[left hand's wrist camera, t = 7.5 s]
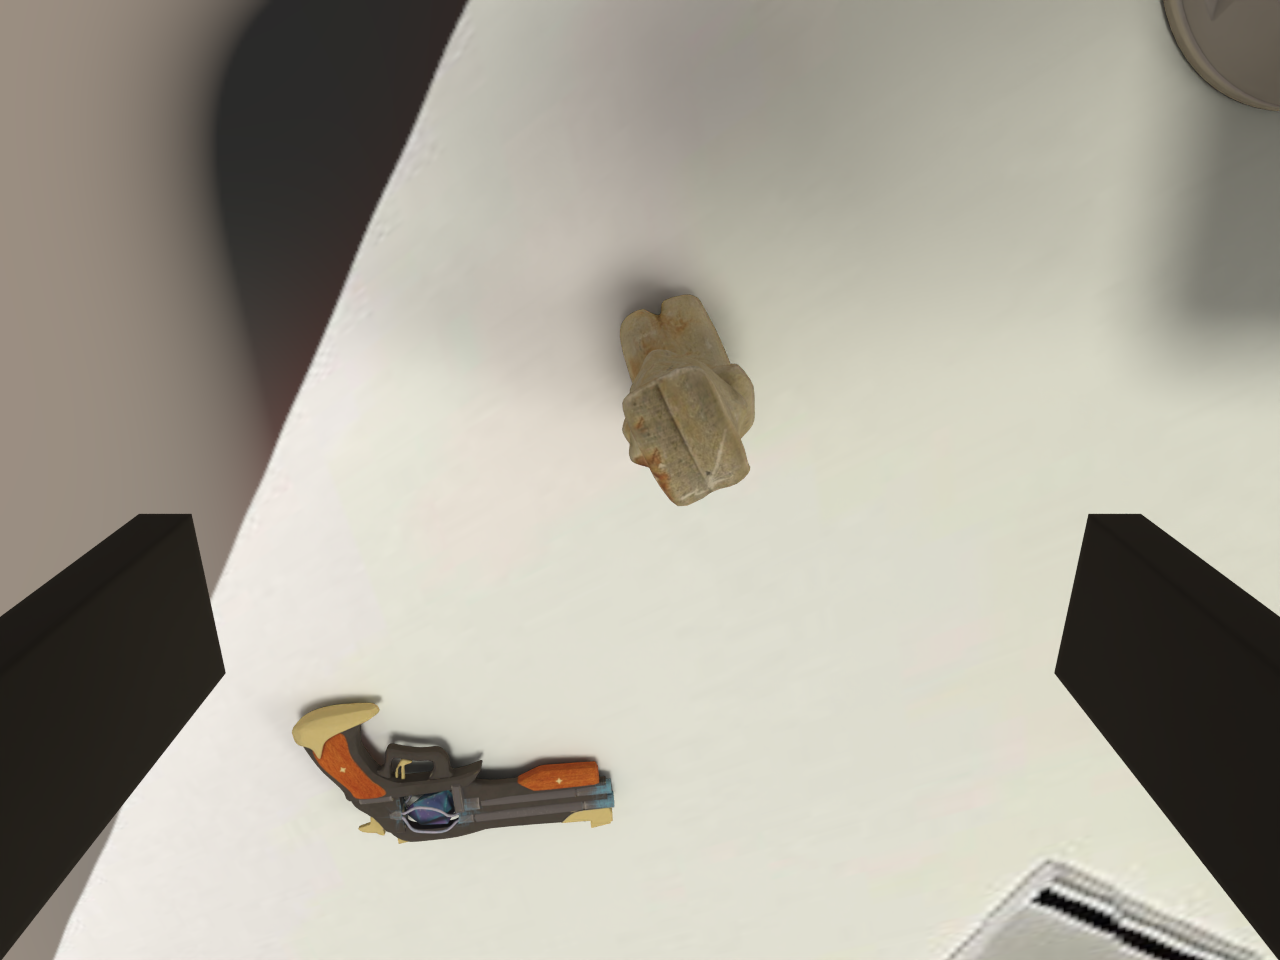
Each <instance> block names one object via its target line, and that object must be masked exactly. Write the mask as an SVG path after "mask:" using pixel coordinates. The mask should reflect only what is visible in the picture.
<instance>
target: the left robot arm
mask: <svg viewBox="0 0 1280 960" xmlns="http://www.w3.org/2000/svg"><path fill="white" fill-rule="evenodd" d="M1163 2H1164V7H1165V12H1166V15H1167V18H1168V22H1169V25H1170V28H1171V31H1172V33H1173V35H1174V37H1175V40H1176V42H1177V44H1178V46H1179V48H1180V49H1181V51H1182V53H1183V54H1184V56H1185V58H1186V59H1187V60H1188V62H1189V63H1190V64H1191V66H1192V67H1193V68H1194V70H1195V71H1196V72H1197V73H1198V74H1199V75H1200V76H1201V77H1202V78H1203V79H1204V80H1205V81H1206V82H1208V83H1209V84H1210V85H1211V86H1213V87H1214V88H1215V89H1216V90H1218V91H1220V92H1221V93H1223V94H1225V95H1226V96H1228V97H1230V98H1232V99H1234V100H1236V101H1239V102H1241V103H1243V104H1246V105H1250V106H1253V107H1256V108H1261V109H1267V110H1273V111H1280V0H1163ZM224 675H225V668H224V663H223V659H222V654H221V649H220V645H219V640H218V635H217V631H216V626H215V621H214V617H213V612H212V607H211V603H210V598H209V593H208V589H207V584H206V579H205V575H204V570H203V565H202V561H201V556H200V551H199V547H198V542H197V537H196V533H195V528H194V523H193V519H192V514H138V515H137V516H136V517H134V518H133V519H132V520H130V521H129V522H128V523H126V524H125V525H124V526H122V527H121V528H119V529H118V530H117V531H115V532H114V533H113V534H111V535H110V536H109V537H107V538H106V539H105V540H103V541H102V542H101V543H99V544H98V545H97V546H95V547H94V548H93V549H91V550H90V551H89V552H87V553H86V554H84V555H83V556H82V557H80V558H79V559H78V560H76V561H75V562H74V563H72V564H71V565H70V566H68V567H67V568H66V569H64V570H63V571H61V572H60V573H59V574H57V575H56V576H55V577H53V578H52V579H51V580H49V581H48V582H47V583H45V584H44V585H43V586H41V587H40V588H39V589H37V590H36V591H34V592H33V593H32V594H30V595H29V596H28V597H26V598H25V599H24V600H22V601H21V602H20V603H18V604H17V605H16V606H14V607H13V608H12V609H10V610H9V611H7V612H6V613H5V614H3V615H2V616H1V617H0V960H2V959H3V957H4V956H5V955H6V953H7V952H8V951H9V950H10V948H11V947H12V946H13V945H14V943H15V942H16V941H17V939H18V938H19V937H20V936H21V934H22V933H23V932H24V930H25V929H26V928H27V927H28V925H29V924H30V923H31V921H32V920H33V919H34V918H35V916H36V915H37V914H38V913H39V911H40V910H41V909H42V907H43V906H44V905H45V903H46V902H47V901H48V900H49V898H50V897H51V896H52V895H53V893H54V892H55V891H56V890H57V888H58V887H59V886H60V884H61V883H62V882H63V881H64V879H65V878H66V877H67V875H68V874H69V873H70V872H71V870H72V869H73V868H74V866H75V865H76V864H77V863H78V861H79V860H80V859H81V857H82V856H83V855H84V854H85V852H86V851H87V850H88V849H89V847H90V846H91V845H92V843H93V842H94V841H95V840H96V838H97V837H98V836H99V834H100V833H101V832H102V831H103V829H104V828H105V827H106V826H107V824H108V823H109V822H110V820H111V819H112V818H113V817H114V815H115V814H116V813H117V811H118V810H119V809H120V808H121V806H122V805H123V804H124V802H125V801H126V800H127V799H128V797H129V796H130V795H131V794H132V792H133V791H134V790H135V788H136V787H137V786H138V785H139V783H140V782H141V781H142V779H143V778H144V777H145V776H146V774H147V773H148V772H149V770H150V769H151V768H152V767H153V765H154V764H155V763H156V762H157V760H158V759H159V758H160V756H161V755H162V754H163V753H164V751H165V750H166V749H167V747H168V746H169V745H170V744H171V742H172V741H173V740H174V739H175V737H176V736H177V735H178V733H179V732H180V731H181V730H182V728H183V727H184V726H185V724H186V723H187V722H188V721H189V719H190V718H191V717H192V715H193V714H194V713H195V712H196V710H197V709H198V708H199V707H200V705H201V704H202V703H203V701H204V700H205V699H206V698H207V696H208V695H209V694H210V692H211V691H212V690H213V689H214V687H215V686H216V685H217V683H218V682H219V681H220V680H221V678H222V677H223V676H224ZM1055 675H1056V676H1057V677H1058V678H1059V680H1060V681H1061V682H1062V683H1063V685H1064V686H1065V687H1066V689H1067V690H1068V691H1069V692H1070V694H1071V695H1072V696H1073V698H1074V699H1075V700H1076V701H1077V703H1078V704H1079V705H1080V707H1081V708H1082V709H1083V710H1084V712H1085V713H1086V714H1087V715H1088V717H1089V718H1090V719H1091V721H1092V722H1093V723H1094V724H1095V726H1096V727H1097V728H1098V730H1099V731H1100V732H1101V733H1102V735H1103V736H1104V737H1105V739H1106V740H1107V741H1108V742H1109V744H1110V745H1111V746H1112V747H1113V749H1114V750H1115V751H1116V753H1117V754H1118V755H1119V756H1120V758H1121V759H1122V760H1123V762H1124V763H1125V764H1126V765H1127V767H1128V768H1129V769H1130V771H1131V772H1132V773H1133V774H1134V776H1135V777H1136V778H1137V779H1138V781H1139V782H1140V783H1141V785H1142V786H1143V787H1144V788H1145V790H1146V791H1147V792H1148V794H1149V795H1150V796H1151V797H1152V799H1153V800H1154V801H1155V802H1156V804H1157V805H1158V806H1159V808H1160V809H1161V810H1162V811H1163V813H1164V814H1165V815H1166V817H1167V818H1168V819H1169V820H1170V822H1171V823H1172V824H1173V826H1174V827H1175V828H1176V829H1177V831H1178V832H1179V833H1180V834H1181V836H1182V837H1183V838H1184V840H1185V841H1186V842H1187V843H1188V845H1189V846H1190V847H1191V849H1192V850H1193V851H1194V852H1195V854H1196V855H1197V856H1198V858H1199V859H1200V860H1201V861H1202V863H1203V864H1204V865H1205V866H1206V868H1207V869H1208V870H1209V872H1210V873H1211V874H1212V875H1213V877H1214V878H1215V879H1216V881H1217V882H1218V883H1219V884H1220V886H1221V887H1222V888H1223V890H1224V891H1225V892H1226V893H1227V895H1228V896H1229V897H1230V898H1231V900H1232V901H1233V902H1234V904H1235V905H1236V906H1237V907H1238V909H1239V910H1240V911H1241V913H1242V914H1243V915H1244V916H1245V918H1246V919H1247V920H1248V921H1249V923H1250V924H1251V925H1252V927H1253V928H1254V929H1255V930H1256V932H1257V933H1258V934H1259V936H1260V937H1261V938H1262V939H1263V941H1264V942H1265V943H1266V945H1267V946H1268V947H1269V948H1270V950H1271V951H1272V952H1273V953H1274V955H1275V956H1276V957H1277V959H1278V960H1280V617H1279V616H1278V615H1277V614H1275V613H1274V612H1273V611H1271V610H1270V609H1268V608H1267V607H1266V606H1264V605H1263V604H1262V603H1260V602H1259V601H1258V600H1256V599H1255V598H1254V597H1252V596H1251V595H1250V594H1248V593H1247V592H1246V591H1244V590H1243V589H1241V588H1240V587H1239V586H1237V585H1236V584H1235V583H1233V582H1232V581H1231V580H1229V579H1228V578H1227V577H1225V576H1224V575H1223V574H1221V573H1220V572H1219V571H1217V570H1216V569H1214V568H1213V567H1212V566H1210V565H1209V564H1208V563H1206V562H1205V561H1204V560H1202V559H1201V558H1200V557H1198V556H1197V555H1196V554H1194V553H1193V552H1192V551H1190V550H1189V549H1187V548H1186V547H1185V546H1183V545H1182V544H1181V543H1179V542H1178V541H1177V540H1175V539H1174V538H1173V537H1171V536H1170V535H1169V534H1167V533H1166V532H1165V531H1163V530H1162V529H1161V528H1159V527H1158V526H1156V525H1155V524H1154V523H1152V522H1151V521H1150V520H1148V519H1147V518H1146V517H1144V516H1143V515H1142V514H1088V519H1087V523H1086V528H1085V533H1084V537H1083V542H1082V547H1081V551H1080V556H1079V561H1078V565H1077V570H1076V575H1075V579H1074V584H1073V589H1072V593H1071V598H1070V603H1069V607H1068V612H1067V617H1066V621H1065V626H1064V631H1063V635H1062V640H1061V645H1060V649H1059V654H1058V659H1057V663H1056V668H1055Z"/></svg>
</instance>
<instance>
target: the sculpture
mask: <svg viewBox="0 0 1280 960" xmlns="http://www.w3.org/2000/svg"><path fill="white" fill-rule="evenodd" d="M620 340H621V345H622V350H623V354H624V358H625V361H626V364H627V368H628V371H629V374H630V378H631V380H632V383H633V384H632V386H631V389H630V394H628V395H627V396H626V398H625V399H624V400H623V403H622V404H623V411H624V415H625V420H624V423H623V428H622V431H623V434H624V436H625V438H626V439H627V441H628V442H629V443H630V447H629V456H630V459H631V461H632V462H634V463H636V464H639V465H642V466H646V467H649V468H650V470H651V472H652V474H653V476H654V478H655V479H656V481H657V482H658V484H659V485H660V487H661V489H662V490H663V491H664V493H665V494H666V495H667V497H668V498H669V499H670V500H671V501H672V502H673V503H674V504H676V505H677V506H687V505H689V504H692V503H694V502H696V501H698V500H700V499H702V498H704V497H705V496H707V495H708V494H709V493H711V492H713V491H716V490H718V489H721V488H725V487H729V486H732V485H735V484H737V483H738V482H740V481H741V480H742V479H744V478H745V476H746V475H747V474H748V472H749V471H750V466H749V464H748V461H747V457H746V453H745V449H744V446H743V444H742V441H741V438H742V437H743V436H744V435H745V434H746V433H747V431H748V430H749V429H750V428H751V426H752V425H753V422H754V418H755V405H754V388H753V384H752V382H751V380H750V379H749V377H748V376H747V374H746V373H745V371H744V370H743V369H742V368H741V367H740V366H739V365H737V364H730V362H729V359H728V357H727V354H726V352H725V350H724V347H723V345H722V342H721V340H720V338H719V336H718V334H717V332H716V329H715V327H714V325H713V324H712V322H711V320H710V318H709V316H708V314H707V312H706V311H705V309H704V307H703V305H702V303H701V302H700V300H699V299H698V298H697V297H695V296H693V295H681V296H676V297H672V298H669V299H667V300H665V301H663V303H662V306H661V314H660V315H655V314H653V313H651V312H649V311H647V310H645V309H642V310H638V311H635V312H633V313H631V314H630V315H628V316H627V317H626V318H625V320H624V321H623V323H622V325H621V328H620Z"/></svg>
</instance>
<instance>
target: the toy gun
mask: <svg viewBox="0 0 1280 960" xmlns="http://www.w3.org/2000/svg"><path fill="white" fill-rule="evenodd" d="M378 712H379V708H378V706H377V705H375V704H373V703H352V704H338V705H331V706H327V707H323V708H319V709H316V710H313V711H311V712H310V713H308V714H306V715H305V716H303V717H302V718H301V719H300V720H299V721H298V722H297V723H296V725H295V726H294V727H293V730H292V734H293V738H294V740H295V742H296V743H297V744H298V745H300V746H303V747H304V748H305V750H306V751H307V753H308V754H309V756H310V757H311V758H312V760H313V761H314V762H315V764H316V765H317V766H318V767H319V768H320V770H321V771H322V772H323V773H324V774H325V775H326V776H328V777H329V778H330V779H331V780H332V781H333V782H334V783H335V784H336V785H337V786H339V787H340V788H341V790H342V791H343V792H344V794H345V796H346V799H347V800H349V801H352V803H353V804H354V806H355V807H356V808H358V809H359V810H361V811H362V812H364V813H366V814H368V815H369V816H371V822H369V823H366V824H363V825H361V826H359V828H358V829H359V830H360V831H362V832H367V833H378V834H380V835H385V832H386V831H387V832H390V833H392V834H393V835H394V836H396V837H397V838H398V842H399V844H400V843H405V842H417V841H427V840H437V839H446V838H453V837H459V836H463V835H467V834H471V833H474V832H478V831H481V830H484V829H489V828H498V827H507V826H518V825H530V824H543V823H557V822H561V823H567V822H578V821H591V828H593V827H597V826H601V825H605V824H609V823H611V822H610V821H613V819H612V807H614V795H613V791H612V789H611V779H610V778H608V779H606V777H605V776H599V772H598V765H597V764H596V762H595V761H592V762H576V763H563V764H549V765H541V766H538V767H536V768H534V769H532V770H529V771H527V772H525V773H523V774H521V775H519V776H518V777H516V778H506V779H496V780H489V779H478V778H476V777H477V775H478V774H479V772H480V770H481V766H482V760H480V761H477V762H475V763H472V764H470V765H467V766H463V767H459V768H454V769H453V768H452V767H451V765H450V758H449V755H448V754H447V752H446V751H445V750H444V749H443V748H441V747H439V746H432V747H409V746H403V745H398V744H389V745H388V747H387V749H386V759H385V764H383V765H381V766H380V765H379V764H377V763H376V762H375V761H374V760H373V758H372V757H371V756H370V754H369V753H368V752H367V750H366V749H365V747H364V746H363V744H362V741H361V735H360V726H361V724H362V723H364V722H366V721H368V720H369V719H371V718H372V717H373V716H375V715H376V714H377V713H378ZM394 758H401V761H400V762H399V764H398V766H397V768H396V772H393V771H392V764H391V762H392V760H393V759H394ZM412 760H415V761H424V760H430V761H432V762H433V763H434V768H433V770H432V771H429V772H420V773H410V774H405V768H404V766H405V765H406V764H409V763H412ZM399 766H401V774H399V773H398V768H399ZM451 789H452V791H450V790H451ZM420 794H424V795H423V796H422V797H421V798H419V799H418V800H417V801H415V802H414V803H413V804H412V805H411V806H409V805H407V804H406V803H407V802H408V801H409V800H410V798H411V797H412V795H420ZM404 796H409V797H408V799H407V800H405V799H404ZM406 808H407V809H406ZM454 811H455V813H454ZM453 813H454V814H453ZM407 814H408V815H409V816H410V817H412V818H413V819H414V820H415V821H417V822H414V821H411V820H409V819H408V816H407ZM456 815H459V817H458V818H456V819H454V820H450V819H451V817H453V816H456ZM385 830H386V831H385Z"/></svg>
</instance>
